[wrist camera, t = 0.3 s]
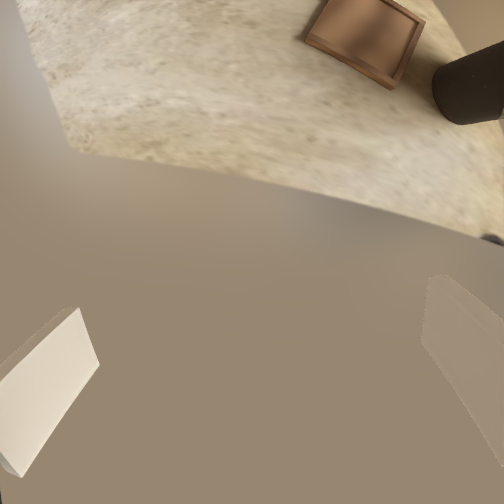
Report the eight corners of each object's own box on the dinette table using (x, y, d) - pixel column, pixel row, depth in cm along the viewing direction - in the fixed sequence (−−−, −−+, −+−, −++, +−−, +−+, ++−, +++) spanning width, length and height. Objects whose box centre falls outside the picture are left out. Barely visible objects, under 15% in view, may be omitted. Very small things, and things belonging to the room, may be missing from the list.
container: (440, 130, 34) (549, 120, 15) (419, 65, 32) (513, 15, 13) (485, 122, 33) (590, 115, 14) (466, 61, 31) (561, 26, 12)
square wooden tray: (304, 41, 32) (306, 36, 31) (342, -20, 29) (344, -26, 27) (390, 90, 33) (395, 87, 32) (420, 26, 30) (426, 22, 28)
